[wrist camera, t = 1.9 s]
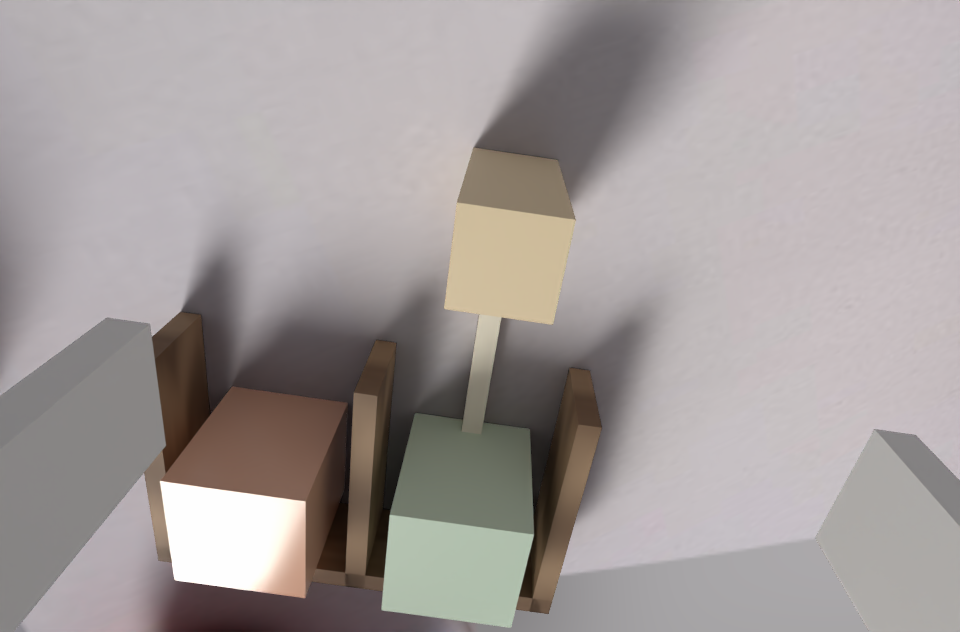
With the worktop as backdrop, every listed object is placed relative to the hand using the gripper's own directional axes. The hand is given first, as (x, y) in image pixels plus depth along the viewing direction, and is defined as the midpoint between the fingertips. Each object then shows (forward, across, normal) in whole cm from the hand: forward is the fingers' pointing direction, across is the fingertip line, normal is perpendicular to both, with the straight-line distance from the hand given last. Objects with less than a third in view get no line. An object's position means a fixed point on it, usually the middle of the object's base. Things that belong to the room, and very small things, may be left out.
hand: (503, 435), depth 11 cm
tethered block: (+16, 0, -8) cm, 18 cm away
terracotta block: (+16, -10, -15) cm, 24 cm away
